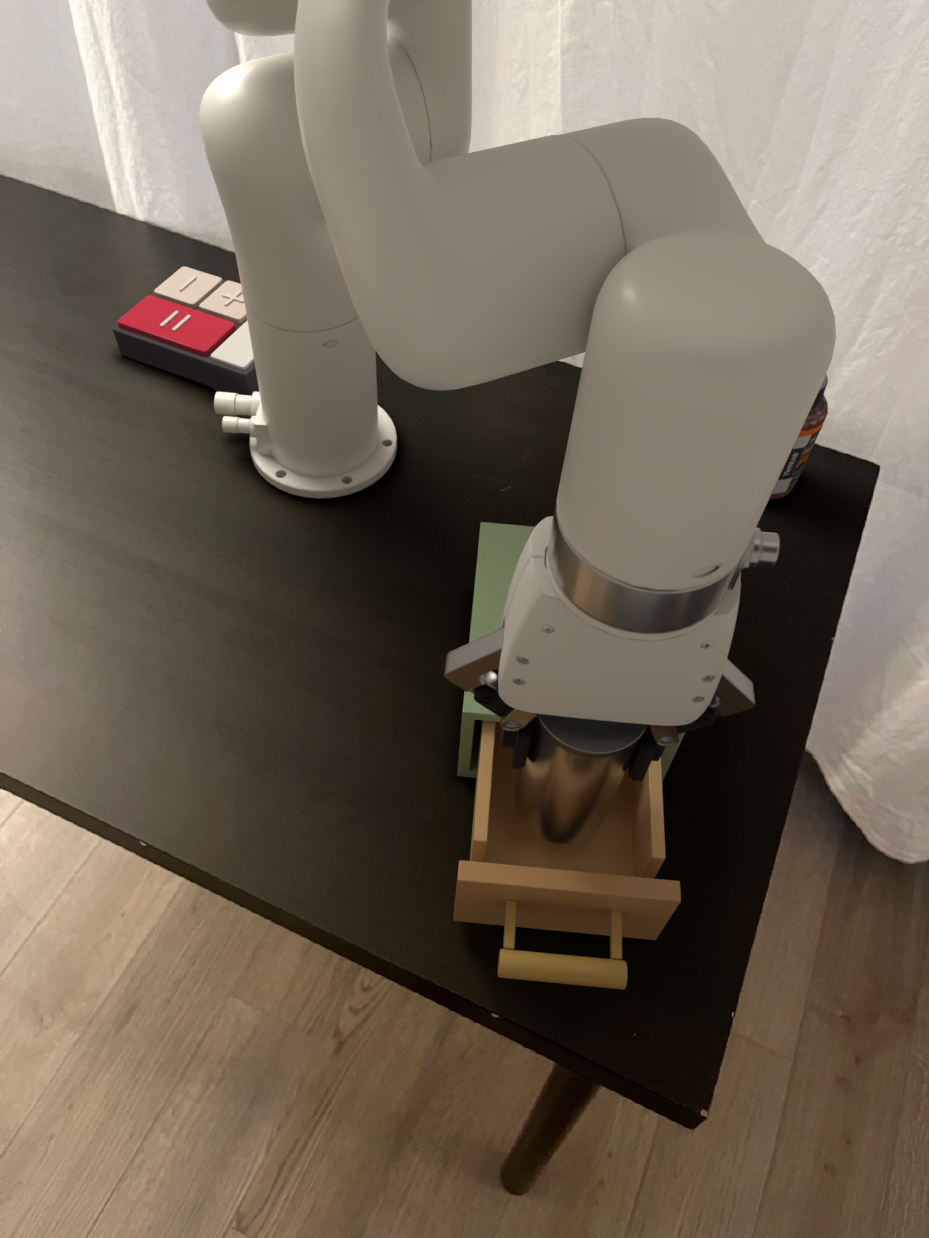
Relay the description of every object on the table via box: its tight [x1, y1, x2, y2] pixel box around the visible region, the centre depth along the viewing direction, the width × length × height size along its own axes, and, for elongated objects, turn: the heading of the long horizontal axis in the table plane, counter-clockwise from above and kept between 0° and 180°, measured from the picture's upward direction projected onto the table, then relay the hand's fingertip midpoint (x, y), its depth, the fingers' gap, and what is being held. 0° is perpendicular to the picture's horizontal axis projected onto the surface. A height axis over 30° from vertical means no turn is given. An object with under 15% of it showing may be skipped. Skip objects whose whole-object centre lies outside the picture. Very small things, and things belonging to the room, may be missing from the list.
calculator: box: [112, 266, 259, 396], centre depth 89 cm, size 11×4×15 cm
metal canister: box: [514, 714, 648, 844], centre depth 54 cm, size 6×6×12 cm
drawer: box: [453, 720, 682, 990], centre depth 58 cm, size 19×12×7 cm, turn 175°
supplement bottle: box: [768, 374, 829, 501], centre depth 79 cm, size 6×6×11 cm
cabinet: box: [456, 521, 686, 783], centre depth 66 cm, size 16×14×9 cm
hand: (577, 749), depth 53 cm, fingers closed on metal canister, 5 cm apart
